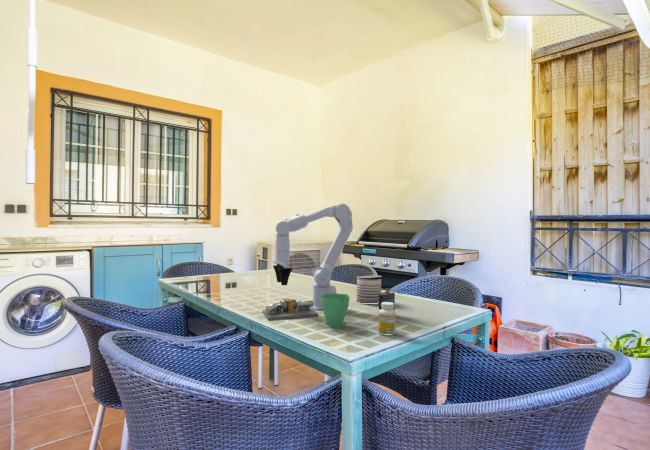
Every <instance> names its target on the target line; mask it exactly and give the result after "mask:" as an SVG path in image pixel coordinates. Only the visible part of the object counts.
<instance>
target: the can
mask: <svg viewBox="0 0 650 450" xmlns="http://www.w3.org/2000/svg"><path fill="white" fill-rule="evenodd" d="M381 277H382V275H360V276H356V277H355V278H356V303H357V302H360V303H378V302H379V294H380V293H382V278H381ZM360 303H359V304H360Z"/></svg>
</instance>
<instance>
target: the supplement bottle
mask: <svg viewBox="0 0 650 450" xmlns="http://www.w3.org/2000/svg"><path fill="white" fill-rule="evenodd" d="M381 307H382V309H380V310H379V309H378V333H379V334H380V333H381V334H395V333H396V332H397V329H396V328H397V312H396V310H393V308H394V303H392V302H382V303H381ZM381 334H380V335H381ZM395 335H396V334H395Z"/></svg>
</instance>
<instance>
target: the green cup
mask: <svg viewBox="0 0 650 450" xmlns="http://www.w3.org/2000/svg"><path fill="white" fill-rule="evenodd" d="M349 302H350V296H349V294H347V293H343V294H342V293H337V294H324V295H321V303H322V308H323V309H322V313H323V315H324V319H325V322H326V325H327V327H329V328H341V327H342V326H343V323H344V321H345V318H346V315H347V312H348V308H349V306H350V305H349Z"/></svg>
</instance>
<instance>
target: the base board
mask: <svg viewBox="0 0 650 450" xmlns="http://www.w3.org/2000/svg"><path fill="white" fill-rule="evenodd" d="M261 312H262V314H263V315H264V316H265V318H266V319H267V320H268V321H274V320H275V321H276V320H286V319H287V320H288V319H289V320H291V319H301V318H316V317H319V316H320V315H319V312H317V310H315V309H314V308H312V307H310V310H309V311H305V310H304V311H298V310H297V308H296V309H295V310H294V312H286V311H281V313H277V314H275V315H272V314H267V313H266V309H262V311H261Z"/></svg>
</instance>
